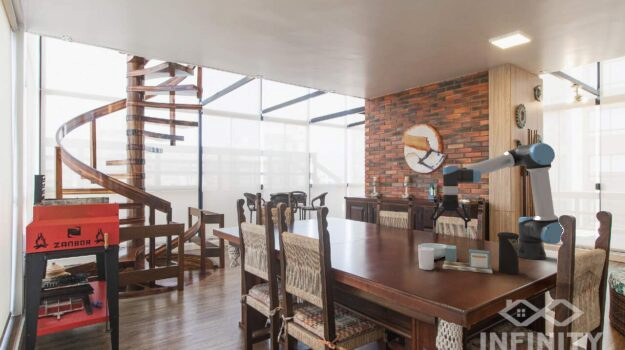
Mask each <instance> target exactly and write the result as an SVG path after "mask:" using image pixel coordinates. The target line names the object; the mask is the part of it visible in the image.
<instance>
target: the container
mask: <svg viewBox="0 0 625 350" xmlns="http://www.w3.org/2000/svg"><path fill="white" fill-rule="evenodd" d="M497 237H498V272H499V273H500V274H504V275H508V276H509V275H510V276H513V275H515V276H518V275H519V274H520V266H519V265H520V264H519V263H520V262H519V257H518V243H519V233H516V232H515V233H514V232H510V231H502V232H498V233H497Z"/></svg>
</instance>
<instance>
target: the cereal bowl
mask: <svg viewBox="0 0 625 350" xmlns="http://www.w3.org/2000/svg"><path fill="white" fill-rule="evenodd" d="M446 245H447V244H443V243H433V242H429V243H427V242H426V243H425V242H424V243H420V244H418V246H417V249H418V248H420V247H428V248H433V249H434V260H440V259H441V258H444V257H445V248H446Z"/></svg>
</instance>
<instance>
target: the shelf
mask: <svg viewBox="0 0 625 350" xmlns="http://www.w3.org/2000/svg"><path fill="white" fill-rule="evenodd" d="M442 269H444V270H453V271H464V272H475V273H485V274H493V269H492V265H491V264H490V269H481V268H470V267H469V262H460V261H456V262H450V261H445V260H444V261H443V264H442Z"/></svg>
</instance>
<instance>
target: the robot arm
mask: <svg viewBox="0 0 625 350" xmlns="http://www.w3.org/2000/svg"><path fill="white" fill-rule="evenodd" d="M555 157H556V154H555V150H554V148H553V147H552V146H551V145H550V144H547V143H545V142H536V143H530V144H524V145H521V146H518V147H515V148H513V149H510V150H508V151H505V152H503V154H502V155H498V156H496V157H495V156H494V157H492V158H489V159H486V160H481V161H480V162H476V163H473V164H470V165H467V166H464V167H461V168H459V167H458V165H444V166H443V168H442V193H443V194H442V203H440V202H436V206H435V208H434V211H433V213H432V214H431V216H430V220H432V221H433V227H435V233H436V234H438V233H439V220H438V219H439V218H440V217H441V215H443V214H444V212H448V213H449V212H453V213H454V212H456V214H458V216H459V217H460V218H461V219H462V220H463V223H462V224H463V225H462V226H463V227H462V228H463V232H462V233H463V236H465V235H466V229H468V223H469V222H472V219H471V217H470V214H469V213H468V211H467V209H466V208H465V207H466V206H465V203H464V202H463V203H459V195H458V194H459V184H478V183H480V182H481V180H482V176H485V175H487V174H490V173H493V172H497V171H500V170H503V169H507V168H510V169H511V168H515V167H520V166H521V167H523V166H525V170H526V171H528V172H529V175H530V176H529V177H530V184H531V185H530V186H531V193H532V199H533V206H534V208H533V209H534V214H535V215H534V216H521V217H519V218H518V223H517V225H518V235H519V238H518V258H522V259H527V260H528V259H530V260H545V259H546V258H547V253H546V250H545V248H544V244H543V243H545V244H548V245H556V244H559V243H561V241H560V236H561V234H562V232H563V229H562V227H561V226H560V224H561V223H560V222H559V221H560V220H559V217H558V216H557V215H556V214H555V210H554V201H553V195H552V187H551V179H550V172H549V171H550V169H551V168H552V163H553V162H554V160H555ZM440 207H443V208H442V209H441V211H440V212H439V213H438V214H437V212H438V210H439V208H440ZM459 207H460V208H461V209H462V211H463V213H464V214H465V216H464V215H463V214H462V212H460V210H459V209H458V208H459ZM436 214H437V216H435V215H436ZM559 223H560V224H559Z"/></svg>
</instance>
